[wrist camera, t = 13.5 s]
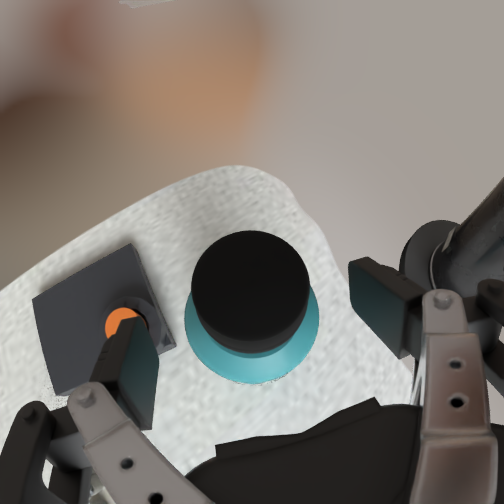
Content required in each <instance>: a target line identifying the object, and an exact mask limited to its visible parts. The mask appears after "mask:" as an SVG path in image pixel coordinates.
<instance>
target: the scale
mask: <svg viewBox="0 0 504 504" xmlns="http://www.w3.org/2000/svg"><path fill="white" fill-rule="evenodd" d="M32 303H33V308H34V314H35V319H36V324H37V329H38V333H39V338H40V342H41V346H42V350H43V354H44V358H45V362H46V365H47V369H48V372H49V375H50V379H51V382H52V385H53V388H54V391H55V394H56V396H67V395H70V394H71V393H72V392H73V391H74V390H75V389H76V388H77V387H79V386H81V385H83V384H85V383H88V382H89V379H90V377H91V374H92V371H93V369H94V366H95V364H96V361H98V360H97V359H98V356H99V354H101V353H100V352H101V349H102V347H103V344H104V343H105V342H106V340H107V339H108V338H107V335H106V332H105V324H106V320H107V318H108V316H109V315H110V314H111V313H112V312H113V311H114V310H116V309H118V308H129V309H131V310H133V311H134V312H136V313H137V314H139V315H140V316H141V317H142V318H143V319H144V320H145V322H146V325H147V330H148V332H149V334H150V336H151V339H152V341H153V343H154V345H155V348H156V350H157V353H158V355H160V354H162V353H164V352H166V351H168V350H170V349H172V348H174V347H176V344H175V342H174V340H173V338H172V335H171V333H170V331H169V329H168V327H167V324H166V322H165V320H164V318H163V315H162V313H161V311H160V308H159V306H158V304H157V301H156V299H155V296H154V294H153V292H152V289H151V287H150V284H149V282H148V279H147V277H146V274H145V271H144V269H143V266H142V264H141V261H140V258H139V256H138V253H137V250H136V249H135V248H134V247H133V245H132V244H131V243H130V244H128V245H127V246H125V247H123V248H121V249H119V250H117V251H115V252H113V253H111V254H110V255H108V256H106V257H104V258H102V259H100V260H99V261H97V262H95V263H93V264H91V265H90V266H88V267H86V268H84V269H82V270H81V271H79V272H77V273H75V274H74V275H72V276H70V277H68V278H67V279H65V280H63V281H62V282H60V283H58V284H56V285H55V286H53V287H51V288H50V289H48V290H46V291H45V292H43V293H41V294H40V295H38V296H37V297H35V298H33V299H32Z"/></svg>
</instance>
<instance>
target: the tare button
mask: <svg viewBox="0 0 504 504" xmlns="http://www.w3.org/2000/svg"><path fill="white" fill-rule="evenodd" d="M136 316H140V315H139V314H137V313H136V312H134V311H133V310H131V309H129V308H118V309H116V310H114V311H113V312H112V313H111V314H110V315H109V316H108V318H107V320H106V324H105V332H106V335H107V338H109V337H110V336H111V335H112V334H115V333H116V330H117V328H118V325H119V323H120V321H121V320H122V319H126V318H131V317H136ZM142 319H143V318H142ZM143 320H144V319H143ZM144 323H145V325H146V322H145V320H144ZM146 327H147V325H146Z"/></svg>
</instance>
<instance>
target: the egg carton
mask: <svg viewBox="0 0 504 504" xmlns="http://www.w3.org/2000/svg"><path fill="white" fill-rule="evenodd" d="M89 504H116V503H115V502H114V500H113V499H112V498H111V496H110V495H109V493H108V491H107V490H106V488H105V487H104V485H103V484H102V482H101V480H100V479H99V477H98V476H97V474H96V472H95V471H94V469H93V468H92V476H91V485H90V494H89Z"/></svg>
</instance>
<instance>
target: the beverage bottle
mask: <svg viewBox="0 0 504 504" xmlns="http://www.w3.org/2000/svg"><path fill="white" fill-rule="evenodd" d="M184 321H185V330H186V335H187V338H188V341H189V344H190V346H191V347H192V349H193V351H194V353H195V354H196V356H197V357H198V358H199V359H200V360H201V361H202V363H203V364H204V365H206V366H207V367H208V368H209V369H210V370H212V371H213V372H215V373H217V374H218V375H220V376H221V377H224V378H227V379H230V380H233V381H235V382H236V381H237V382H242V383H247V384H260V383H264V382H266V381H270V380H273V379H277V378H280V377H282V376H283V375H285V374H286V375H287V374H288V372H290V371H291V370H293V369H294V368H295V367H296V366H297V365H299V364H300V363H301V362H302V360H303V359H304V358H305V357H306V356H307V354H308V353H309V351H310V350H311V348H312V346H313V344H314V341H315V338H316V335H317V332H318V326H319V308H318V304H317V300H316V297H315V294H314V292H313V290H312V288H311V286H310V281H309V275H308V271H307V269H306V266H305V264H304V262H303V260H302V258H301V257H300V255H299V254H298V253H297V251H296V250H295V249H294V248H293V247H292V246H291V245H289V244H288V243H287V242H286V241H284V240H283V239H281V238H279V237H277V236H275V235H272V234H270V233H266V232H262V231H251V230H248V231H240V232H235V233H232V234H229V235H227V236H225V237H222V238H221V239H219V240H217V241H216V242H214V243H213V244H212V245H211V246H210V247H209V248H208V249H206V250H205V252H204V253H203V254H202V256H201V257H200V259H199V260H198V262H197V264H196V267H195V269H194V273H193V276H192V282H191V292H190V294H189V297H188V300H187V303H186V308H185V318H184ZM284 377H285V376H284ZM275 381H276V380H275ZM237 382H236V384H237ZM271 382H272V381H271ZM239 384H240V383H239ZM267 384H268V383H267ZM258 386H259V385H258Z"/></svg>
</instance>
